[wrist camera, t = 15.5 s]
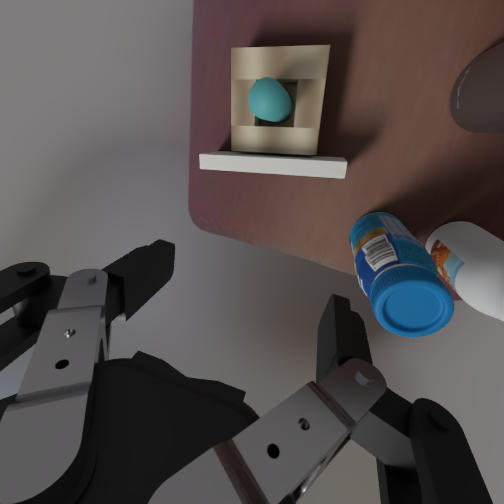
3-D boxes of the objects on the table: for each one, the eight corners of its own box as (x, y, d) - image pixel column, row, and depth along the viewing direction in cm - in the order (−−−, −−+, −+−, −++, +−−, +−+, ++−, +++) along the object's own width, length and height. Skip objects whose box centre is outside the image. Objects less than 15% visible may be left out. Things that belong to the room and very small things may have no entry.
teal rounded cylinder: (295, 91, 36) (285, 77, 27) (292, 123, 37) (282, 119, 28) (267, 91, 36) (248, 77, 28) (265, 122, 38) (247, 118, 29)
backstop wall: (343, 157, 38) (347, 162, 32) (341, 171, 39) (344, 178, 33) (217, 151, 42) (199, 154, 36) (217, 163, 43) (200, 168, 37)
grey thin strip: (439, 213, 38) (539, 283, 20) (495, 228, 37) (652, 314, 19) (414, 258, 41) (480, 350, 24) (464, 272, 40) (573, 380, 23)
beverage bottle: (411, 211, 39) (483, 276, 21) (398, 261, 42) (451, 352, 25) (352, 208, 41) (373, 266, 23) (344, 256, 44) (358, 337, 27)
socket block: (329, 56, 34) (330, 44, 29) (316, 152, 39) (315, 155, 35) (242, 58, 36) (231, 48, 32) (241, 148, 42) (231, 150, 37)
